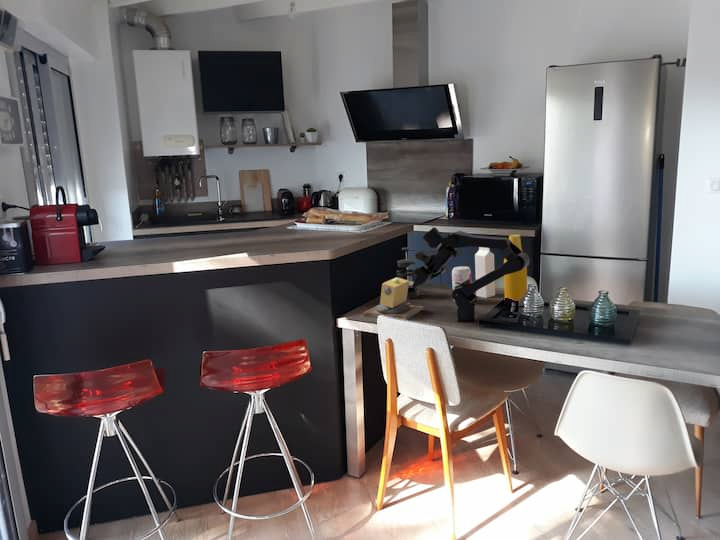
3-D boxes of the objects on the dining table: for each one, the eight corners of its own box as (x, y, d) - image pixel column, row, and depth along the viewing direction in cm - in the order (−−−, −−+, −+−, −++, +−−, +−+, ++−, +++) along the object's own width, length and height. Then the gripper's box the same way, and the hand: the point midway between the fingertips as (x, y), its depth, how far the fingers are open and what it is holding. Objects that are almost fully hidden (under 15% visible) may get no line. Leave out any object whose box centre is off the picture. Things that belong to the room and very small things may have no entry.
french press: (424, 295, 263) (421, 246, 259) (410, 300, 257) (407, 250, 253) (405, 292, 272) (402, 245, 268) (391, 297, 266) (388, 248, 261)
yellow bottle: (516, 308, 232) (515, 238, 226) (500, 304, 239) (498, 236, 234) (532, 304, 236) (531, 234, 231) (515, 300, 244) (513, 233, 238)
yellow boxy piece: (406, 300, 242) (409, 278, 239) (391, 308, 231) (394, 285, 228) (394, 296, 245) (397, 274, 242) (379, 304, 234) (381, 281, 231)
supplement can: (472, 298, 252) (470, 265, 249) (472, 303, 244) (470, 269, 241) (453, 299, 253) (451, 266, 250) (453, 304, 245) (451, 270, 243)
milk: (486, 298, 251) (484, 249, 247) (476, 296, 256) (474, 247, 252) (495, 295, 255) (494, 246, 250) (485, 293, 260) (483, 245, 255)
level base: (423, 309, 240) (423, 300, 239) (405, 320, 227) (405, 310, 226) (382, 306, 251) (382, 297, 250) (363, 315, 238) (362, 306, 237)
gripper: (437, 239, 231) (415, 265, 239) (416, 246, 216) (393, 274, 224) (456, 258, 229) (433, 284, 237) (437, 267, 213) (413, 295, 221)
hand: (418, 284), depth 230 cm, fingers open, 9 cm apart
